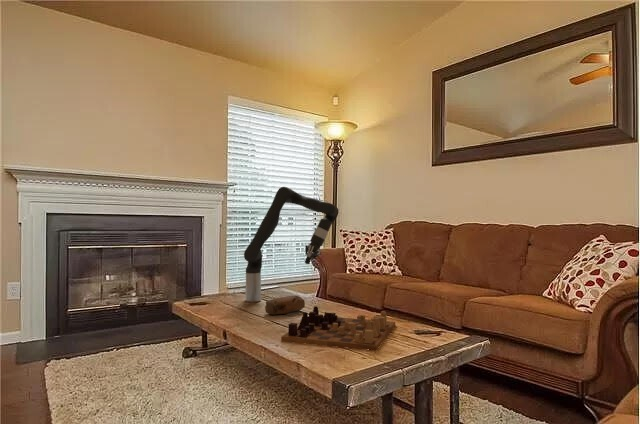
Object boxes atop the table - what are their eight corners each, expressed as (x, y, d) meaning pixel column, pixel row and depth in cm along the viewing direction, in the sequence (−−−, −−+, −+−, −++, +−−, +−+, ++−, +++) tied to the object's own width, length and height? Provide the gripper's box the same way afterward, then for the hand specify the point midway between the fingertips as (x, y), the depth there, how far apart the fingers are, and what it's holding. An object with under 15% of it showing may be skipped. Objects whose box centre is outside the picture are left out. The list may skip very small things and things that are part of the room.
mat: (268, 308, 242) (268, 307, 242) (280, 306, 246) (280, 305, 246) (288, 314, 226) (288, 313, 226) (300, 312, 230) (300, 311, 230)
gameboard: (376, 352, 164) (376, 328, 164) (281, 342, 178) (281, 320, 178) (395, 327, 201) (395, 307, 202) (315, 320, 215) (315, 302, 215)
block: (294, 307, 241) (263, 313, 229) (294, 293, 241) (263, 299, 229) (306, 311, 233) (274, 317, 220) (306, 297, 232) (274, 302, 220)
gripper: (308, 231, 251) (295, 258, 250) (321, 236, 241) (308, 265, 240) (317, 235, 256) (304, 262, 255) (330, 241, 246) (317, 269, 244)
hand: (306, 263), depth 247 cm, fingers closed
